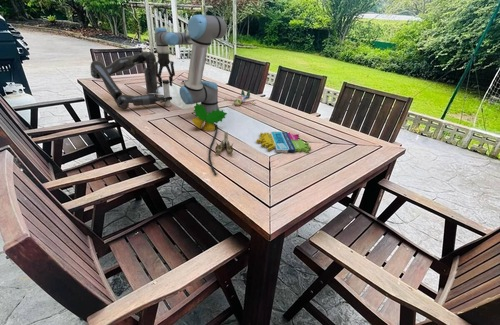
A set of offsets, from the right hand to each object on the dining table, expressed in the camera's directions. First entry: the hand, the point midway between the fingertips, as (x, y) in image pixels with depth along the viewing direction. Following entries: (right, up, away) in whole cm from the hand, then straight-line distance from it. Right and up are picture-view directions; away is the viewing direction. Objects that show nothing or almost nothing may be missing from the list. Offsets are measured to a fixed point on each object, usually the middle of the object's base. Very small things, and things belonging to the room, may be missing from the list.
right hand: (166, 86), depth 192 cm
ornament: (+36, -35, -28) cm, 57 cm away
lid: (0, +3, -2) cm, 4 cm away
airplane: (+5, +19, +66) cm, 69 cm away
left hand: (+2, -7, +6) cm, 9 cm away
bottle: (-1, -13, +7) cm, 15 cm away
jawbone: (+48, -50, -54) cm, 88 cm away
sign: (+81, -45, -40) cm, 100 cm away
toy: (+55, -5, +29) cm, 62 cm away
